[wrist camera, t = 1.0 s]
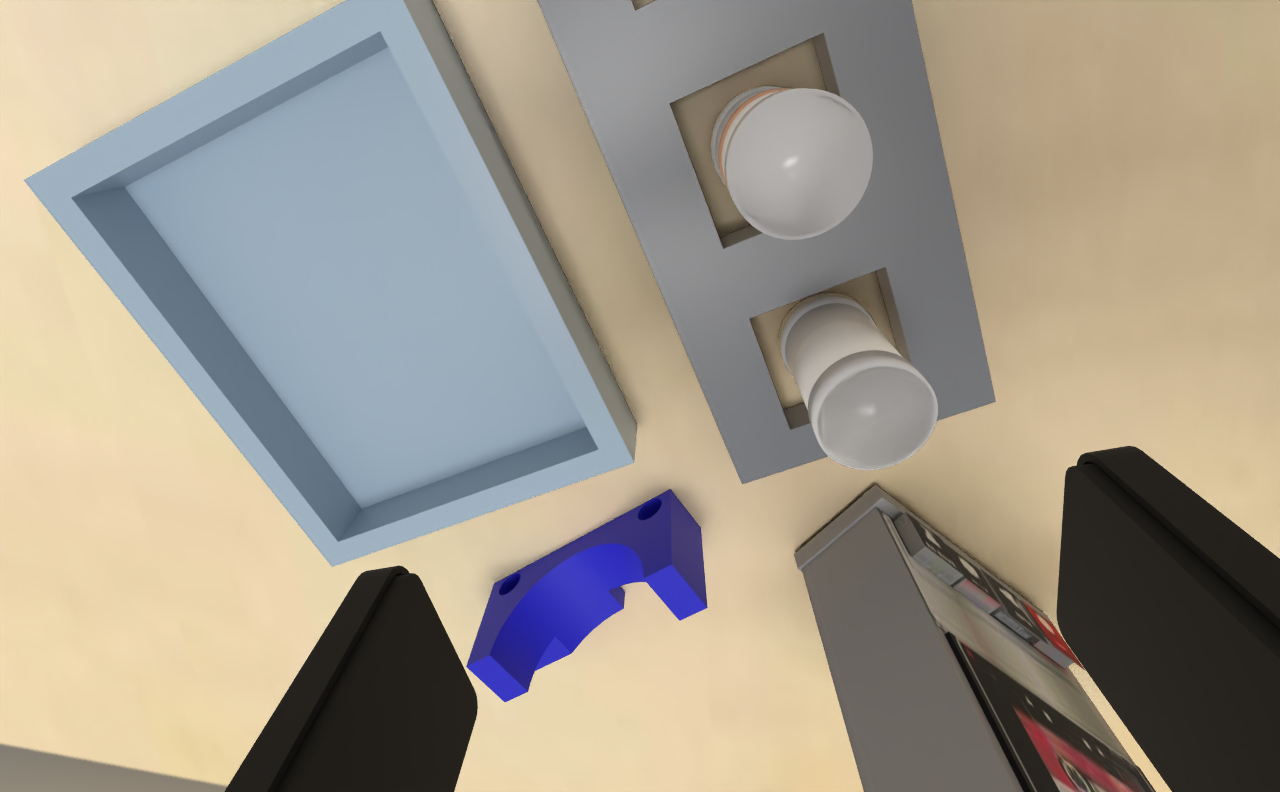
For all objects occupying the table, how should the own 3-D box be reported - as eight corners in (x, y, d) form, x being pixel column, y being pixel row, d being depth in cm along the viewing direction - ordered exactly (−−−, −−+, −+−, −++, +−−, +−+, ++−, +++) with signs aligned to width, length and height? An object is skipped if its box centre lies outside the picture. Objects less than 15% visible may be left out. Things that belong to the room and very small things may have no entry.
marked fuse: (797, 66, 25) (851, 61, 18) (827, 172, 26) (888, 207, 19) (695, 113, 26) (707, 126, 18) (730, 213, 27) (754, 260, 20)
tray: (426, -11, 24) (390, -25, 21) (637, 424, 32) (634, 462, 29) (97, 168, 27) (23, 180, 24) (361, 523, 35) (332, 566, 32)
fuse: (857, 278, 28) (923, 345, 21) (881, 359, 30) (949, 447, 23) (766, 312, 29) (799, 388, 22) (793, 390, 31) (832, 484, 24)
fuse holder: (803, -394, 19) (818, -442, 18) (976, 382, 30) (995, 401, 29) (464, -190, 22) (446, -214, 20) (738, 462, 33) (742, 484, 31)
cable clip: (542, 630, 39) (523, 719, 33) (495, 581, 37) (466, 666, 32) (715, 544, 35) (724, 628, 30) (670, 486, 34) (671, 564, 28)
